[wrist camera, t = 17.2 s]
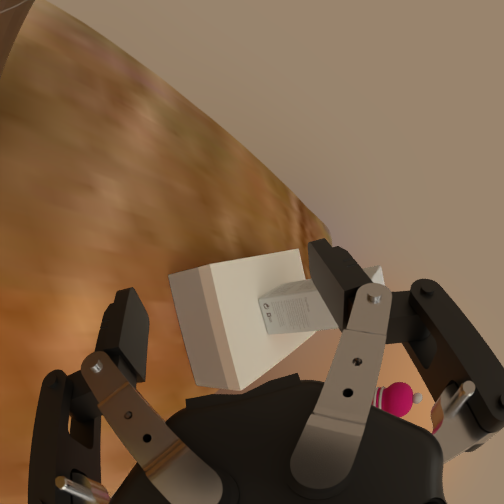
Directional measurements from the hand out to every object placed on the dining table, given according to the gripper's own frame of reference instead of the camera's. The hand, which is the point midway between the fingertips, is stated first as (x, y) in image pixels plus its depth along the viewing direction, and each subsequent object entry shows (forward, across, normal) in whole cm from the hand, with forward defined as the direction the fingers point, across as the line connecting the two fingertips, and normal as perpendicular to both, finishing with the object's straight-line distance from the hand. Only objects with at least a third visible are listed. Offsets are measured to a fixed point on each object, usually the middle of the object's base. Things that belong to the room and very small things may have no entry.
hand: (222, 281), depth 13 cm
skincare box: (+13, -4, +16) cm, 21 cm away
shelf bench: (+16, +1, +17) cm, 24 cm away
